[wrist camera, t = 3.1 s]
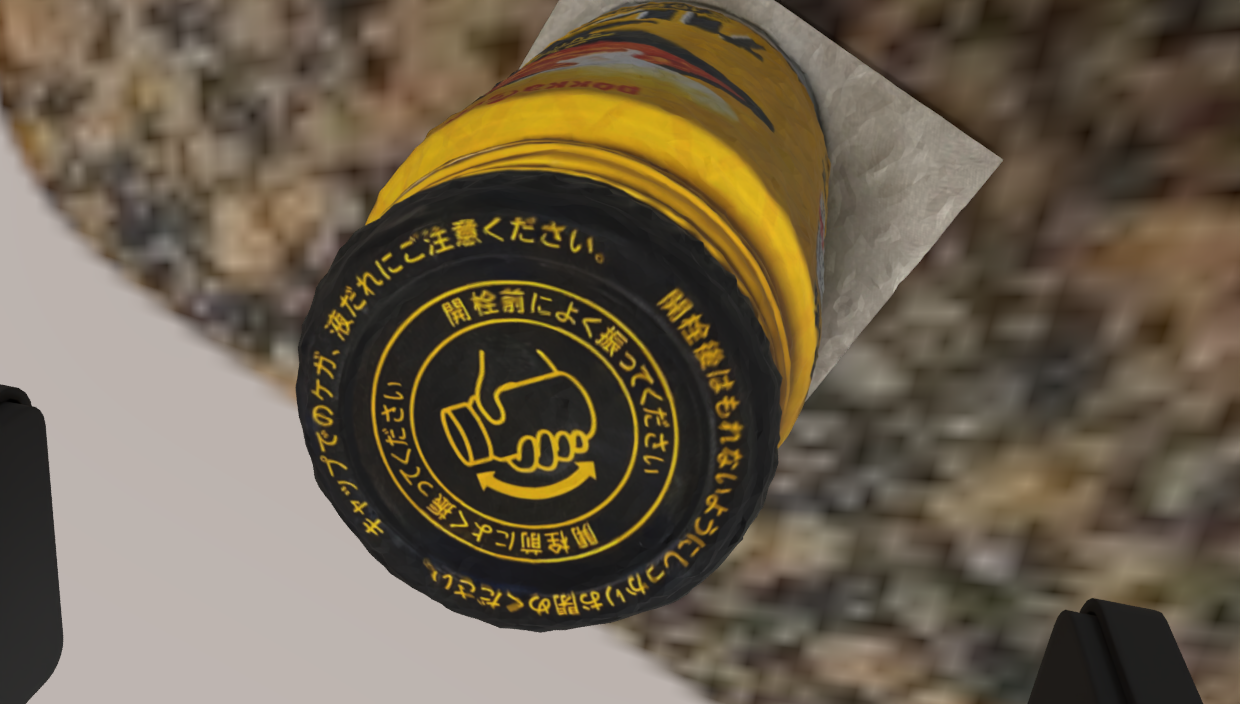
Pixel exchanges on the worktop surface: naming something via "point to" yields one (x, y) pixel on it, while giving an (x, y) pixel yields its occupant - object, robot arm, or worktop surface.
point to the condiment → (614, 304)
